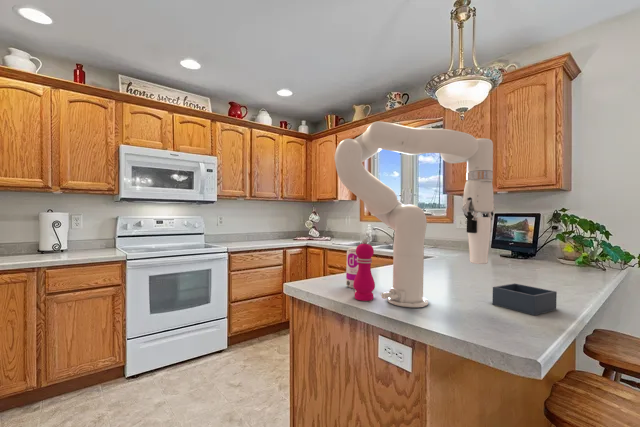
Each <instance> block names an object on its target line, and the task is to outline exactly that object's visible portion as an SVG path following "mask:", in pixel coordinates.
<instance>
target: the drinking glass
mask: <svg viewBox="0 0 640 427" xmlns="http://www.w3.org/2000/svg"><path fill="white" fill-rule="evenodd" d="M475 220H477V233H467V240H468V252H469V262H470V264H475V265H487V264H488V263H489V249H490V241H491V233H492V220H491V218H490V217H482V216H476V219H475Z"/></svg>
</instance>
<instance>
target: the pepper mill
mask: <svg viewBox="0 0 640 427" xmlns="http://www.w3.org/2000/svg"><path fill="white" fill-rule="evenodd" d="M361 242H362V243H360V244H358V245H357V246H356V247H357V248H356V254H357V256H358V258H357V259H358V261H357V262H358V272H357V275H356V277H355V279H354V283H353V287H354V288H353V290H355V291H354V299H355V300H357V301H362V302H363V301H364V302H370V301H372V300H374V293H373V292H374V290H375V289H376V282H375V279H374V277H373V274H372V268H371V264H372V263H373V258H372V257H373V256H374V252H375V250H374V247H373V246H372V244H369V243H368V239H367V238H363V240H362V241H361Z"/></svg>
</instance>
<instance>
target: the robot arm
mask: <svg viewBox="0 0 640 427" xmlns="http://www.w3.org/2000/svg"><path fill="white" fill-rule="evenodd" d="M382 150H384V151H390V152H395V153H399V154H400V153H401V154H405V155H408V156H418V155H424V154H425V155H426V154H440V158H441V159H442V160H443V161H444V162H445V163H447V164H460V163H466V181H465V184H464V189H463V197H462V207H461V210H462V212H463V215H464V217H465V221H466V233H467V234H468V233H477V220H475V219H476V217H478V213H480V215H481V216H480V217H490V218H491V221H493V217H494V214H495V212H496V207H495V206H494V205H495V200H494V199H495V198H494V197H495V196H494V195H495V194H494V186H493V180H494V179H493V178H494V177H493V175H494V142H493V140H492V139H490V138H476V137H475V136H474V135H472V134H471V133H467V132H464V131H459V130H453V129H449V128H448V129H447V128H416V127H411V126H406V125H402V124H396V123H392V122H388V121H373V122H372V123H370V125H369V126H368V127H367V129H366V130H365V131H364V132H363V133H362V134H360V135H359V136H357V137H355V138H354V139H353V138H345V139H343V140H341V141H340V142H339V143H338V144H337V146H336V149H335V152H334V158H333V159H334V162H335V170H336V173H337V176H338V178H339V179H340V182H341V183H342V184H343V185H344V187H345V188H346V189H348V191H350V192H351V193H352V194H353V195H355V196H356V197H357V198H358V199H360V201H362V202H363V204H364V207H365V209H366V210H367V211H368V212H369V213H370V214H371V215H373V216H374V217H375V218H377V219H378V220H379V221H380V222H382V223H383V224H384V225H386V226H387V227H388V228H390V229H392V230H393V231H394V236H393V245H392V246H393V247H392V250H393V251H392V254H393V255H392V256H393V258H392V259H393V260H392V266H393V267H392V287H390V289H389V291H384V292H381V294H380V296H381V298H382V299H383V300H385V299H387V302H388V303H389V304H392V305H394V306H398V307H403V308H413V309H414V308H424V307H427V306H428V305H429V300H428V299H427V298H426V297H424V273H425V272H424V266H425V265H424V264H425V263H424V262H425V238H426V230H427V224H428V222H427V217H426V213H425V212H424V210H423V209H422V208H421V207H419V206H417V205H415V204H405V203H402V201H400V200H398V195H397V194H396V192H395V190H394V189H392V187H390V186H388V185H387V184H385V183H384V182H382V181H381V180H380V179H379V178H378V177H376V176H375V175H373V174H372V173H371V172H370V171H369V170H368V169H367V168H366V167H365V165H364V163H363V162H365V161H367V160H368V159H370V158H372V157H373V156H375V155H376V154H378V153H379V152H380V151H382Z"/></svg>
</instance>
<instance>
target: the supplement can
mask: <svg viewBox="0 0 640 427" xmlns="http://www.w3.org/2000/svg"><path fill="white" fill-rule="evenodd" d="M356 248H357V246H352V247H351V246H350V247H348V249H347V251H346V268H345V270H346V272H345V274H346V275H345V276H346V277H345V285H346V286H347V287H348V288H350V289H354V287H353V283H354V279H355V277H356V275H357V272H358V262H357V261H358V259H357V258H358V256H357V254H356Z"/></svg>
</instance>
